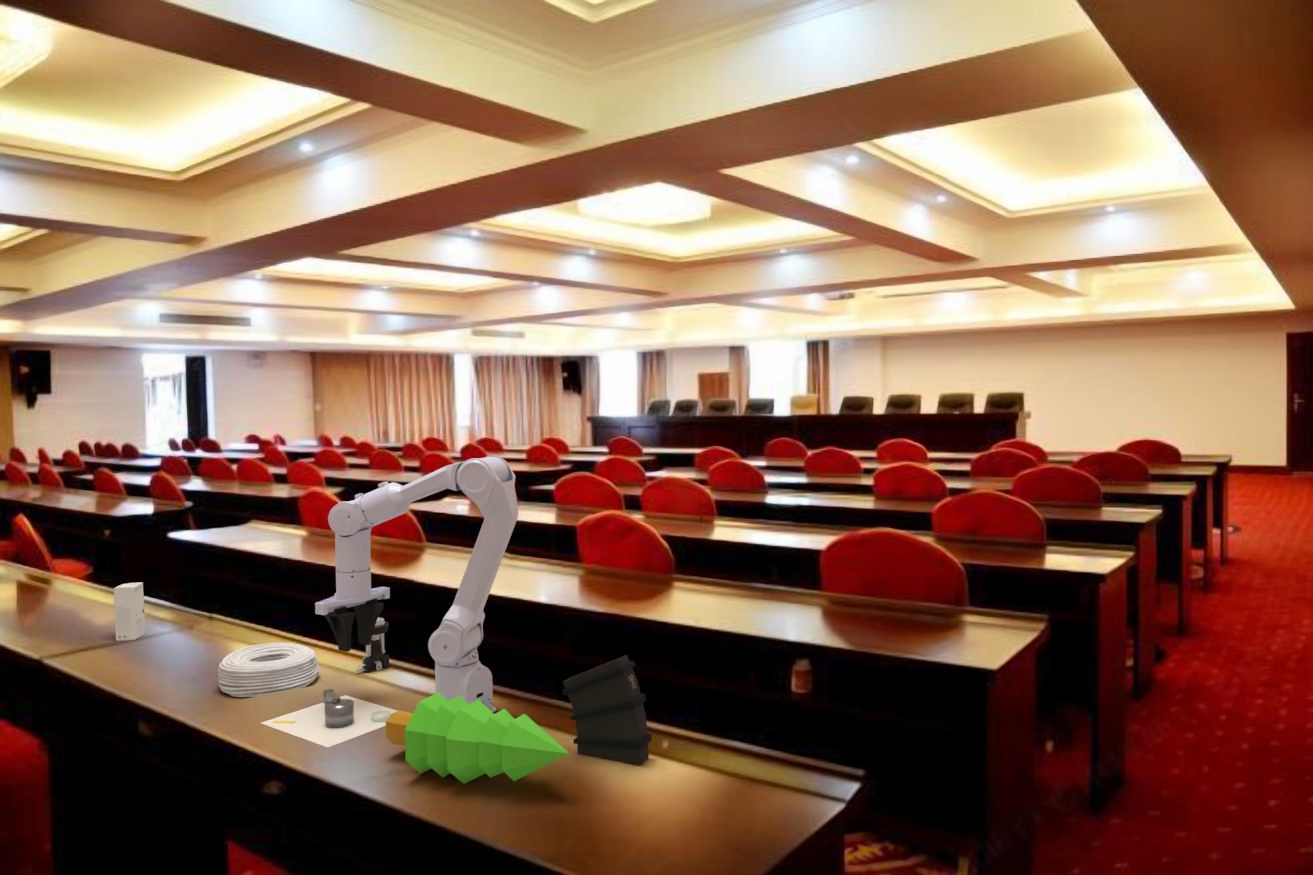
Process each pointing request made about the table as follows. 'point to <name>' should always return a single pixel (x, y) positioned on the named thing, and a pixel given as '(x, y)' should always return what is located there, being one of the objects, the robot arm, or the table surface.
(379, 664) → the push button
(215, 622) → the table surface
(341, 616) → the robot arm
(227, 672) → the cable
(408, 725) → the decorative tree
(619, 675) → the magazine
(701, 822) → the table surface
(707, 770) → the table surface
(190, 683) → the table surface
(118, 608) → the skincare box
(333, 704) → the grey crank handle
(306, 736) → the white paper sheet
